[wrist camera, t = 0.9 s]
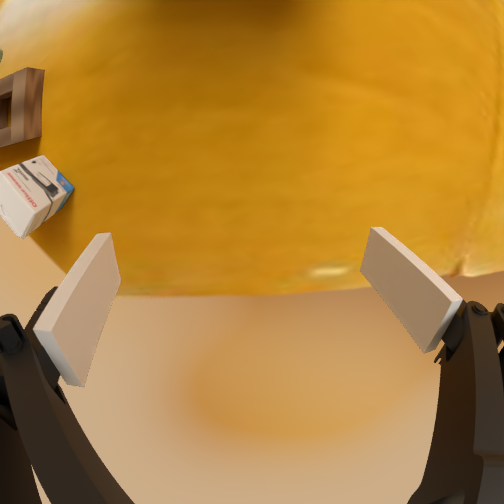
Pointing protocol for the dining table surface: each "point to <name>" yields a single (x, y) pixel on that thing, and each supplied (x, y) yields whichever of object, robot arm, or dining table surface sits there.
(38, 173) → the ink box
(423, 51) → the dining table surface
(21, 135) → the socket block
